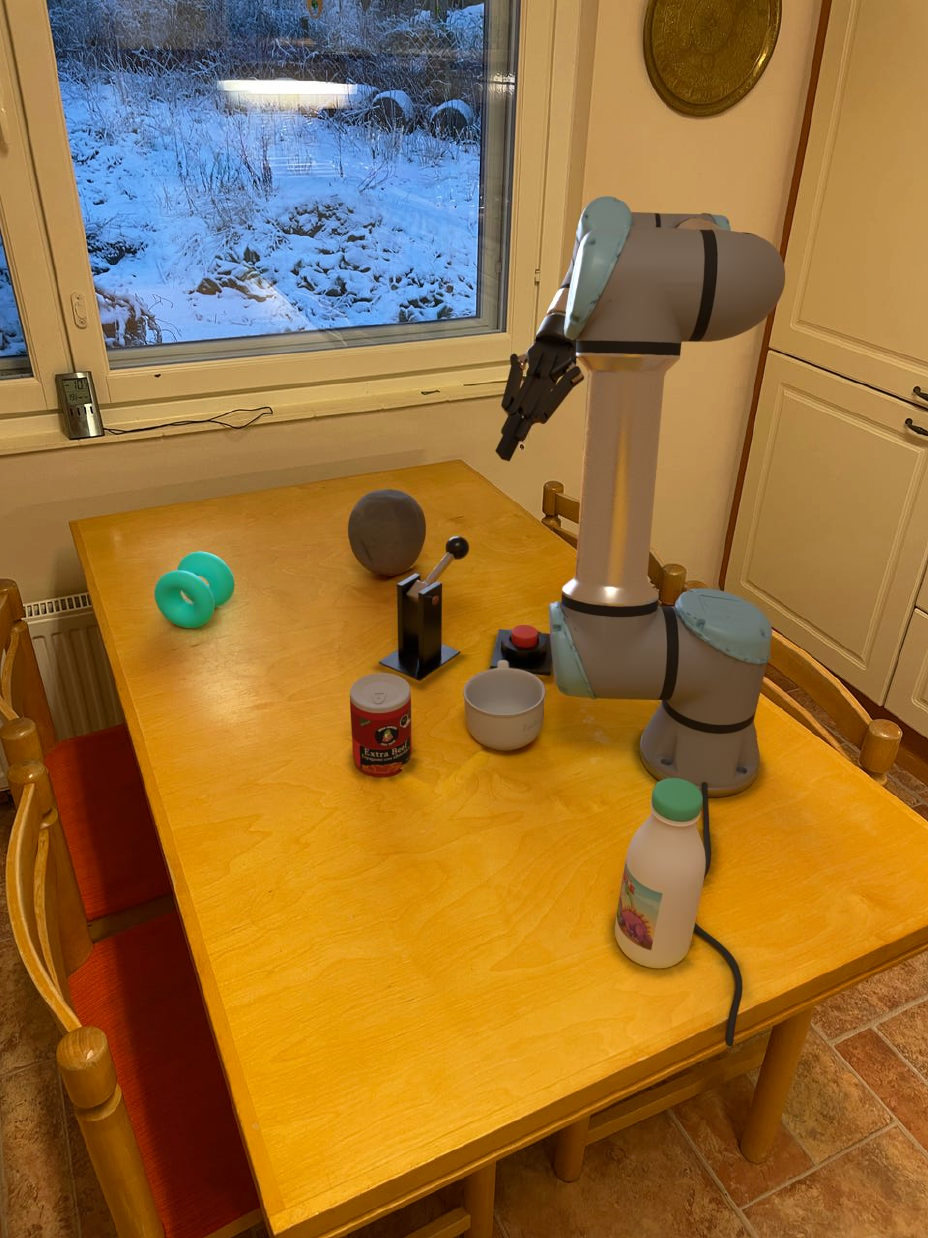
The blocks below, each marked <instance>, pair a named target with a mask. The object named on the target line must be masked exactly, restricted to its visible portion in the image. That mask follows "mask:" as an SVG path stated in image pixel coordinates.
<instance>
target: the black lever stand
mask: <svg viewBox="0 0 928 1238" xmlns="http://www.w3.org/2000/svg"><path fill="white" fill-rule="evenodd" d="M417 580H418V581H420V582H422V577H421V574H419V573H414V574H412V575H410V576H408V577H406V578H405V579H403V580H402V581H399V582H398V583H396V608H397V609H396V611H397V613H396V614H397V649H396V650H395V651H392V653H389V654H388V655H387V656H385V657H383V658H382V659H381V660H379V661H378V664H380V665H382V666H385V667H387V668H389V669H391V670H394V671H396V672H398V673H401V674H403V675H405V676H407V677H408V678H409V677H410V678H412V679H414V680H416V681H418V682H421V681H423V680H424V679H425V678H427V677H428V676H429V675H431V674H433V673H434V672H435V671H436V670H438V669H439V668H441V667H442V666H443V665H445V664H446V663H448V662H449V661H451V660H452V659H454V658H455V657H456V656H458V655H459V654H460V653H461V651H460V650H458V649H455V648H454V647H451V646H448V645H445V644H443V641H442V640H443V639H442V638H443V635H442V634H443V582H441V581H438V580H437V581H436V582H435V583H433V584H431V585H430V586H428V587H426V588H425V589H423V590H421V591H420V592H418V606H415V605H412V604H411V603H410V601H409V599H408V596H407V594H406V593H407V592H408V591H409V590H410V588H411V587H412V586H413V585H414V583H415V582H416V581H417Z"/></svg>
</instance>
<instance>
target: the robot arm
mask: <svg viewBox="0 0 928 1238" xmlns="http://www.w3.org/2000/svg"><path fill="white" fill-rule="evenodd" d="M785 286H786V268H785V263H784V260H783V258H782V255H781V254H780V252H779V250H778V249H777V247H776V246H775V245H773V244H772V243H771V242H770V241H769V240H767V239H766V238H764V237H761V236H759V235H757V234H755V233H752V232H745V231H741V232H740V231H734V230H731V225H730V220H729V218H728V217H727V216H725V215H722V214H712V213H709V212H701V213H667V212H666V213H665V212H663V213H662V212H661V213H659V212H647V211H646V212H644V211H642V212H639V211H631V209H630V207H629V205H627V203H625V201H623V200H620V199H618V198H617V197H614V196H609V195H606V196H599V197H596V198H595V199H593V200H592V201H590V202H589V203H588V204H587V205H585V207H584V209H583V211H582V213H581V215H580V218H579V222H578V224H577V226H576V231H575V240H574V247H573V251H572V255H571V260H570V265H569V267H568V270H567V272H566V274H565V276H564V279H563V280H562V283H561V284H560V286H559V289H558V291H557V292H556V294H555V296H554V297H553V300H552V302H551V304H550V305H549V307H548V310H547V312H546V316H545V317H544V318H543V320H542V322H541V324H540V326H539V328H538V329H537V332H536V334H535V339H534V342H533V343H532V345H531V346H529V348H528V349H527V350H526V352H525V353H523V354H520V355H518V354H517V353H512V354H510V356H509V361H510V369H509V371H508V372H509V373H508V377H507V379H506V380H507V381H506V384H505V389H504V392H503V396H502V400H501V404H500V406H501V408H502V410H503V411H504V412H505V414H506V416H507V418H506V420H505V421H504V423H503V425H502V427H501V430H500V433H501V435H502V436H501V438H500V440H499V442H498V444H497V446H496V448H495V453H496V454H497V455H498V457H499V458H500V460H502V461H506V462H511V460H512V457H513V455H514V453H515V452H516V450H517V447H518V445H519V443H520V442H521V443H524V441H526V439H527V436H528V435H529V433H530V430H531V428H532V427H533V426H534V425H536V424H541V425H545V424H547V422H549V420H550V419H551V417H552V416H553V414H554V413H555V412H556V411H557V410H558V408H559V407H560V405H562V403H563V402H564V400H565V399H566V398H567V397H568V396H569V394H570V393H571V391H572V390H573V389H574V388H575V387H576V386H578V385H579V384H580V383H581V382H583V381H584V380H585V376H584V373H583V371H582V370H581V368H580V367H579V365H577V359H578V361H580V363H581V364H582V365H583V366H584V368H585V369H586V371H587V383H586V384H587V385H586V399H585V400H586V401H585V402H586V403H585V415H584V416H585V418H584V431H583V432H584V434H583V446H582V463H581V464H582V465H581V479H580V495H579V511H578V513H579V514H578V530H577V545H576V558H575V559H576V560H575V574H574V576H573V577H572V578H571V579H570V580H569V581H567V582H566V583H565V584H564V585H563V586H562V588H561V599H560V601H559V600H556V601H554V602H551V603H549V605H548V629H549V634H550V641H551V651H552V668H553V669H552V670H553V675H554V681H555V685H556V688H557V690H558V691H559V692H560V693H561V694H563V695H564V696H567V697H575V698H585V699H591V700H593V701H595V700H596V699H597V700H599V699H601V700H603V699H604V700H637V701H660V703H659V705H658V706H657V708H656V709H655V711H654V713H653V715H652V716H651V717H650V720H649V721H648V723H647V725H646V726H645V727H644V729H643V732H642V734H641V739H640V744H639V758H640V761H641V763H642V765H643V766H644V768H645V769H646V770H647V771H648V772H649V774H650V775H651V776H652V777H654V779H656V780H658V782H659V781H661V780H663V779H667V778H679V779H683V780H686V781H689V782H691V783H692V784H694V785H695V786H696V787H698V789H699V790H700V791H701V793H702V797H703V803H702V820H703V821H702V825H703V826H702V827H703V841H704V842H703V843H704V851H705V858H706V865H705V875H704V879H706V877H707V875H708V874H709V870H710V867H711V862H712V843H711V832H710V807H709V806H710V805H709V798H721V797H727V796H728V797H729V796H733V795H735V794H738V793H741V792H743V791H745V790H746V789H748V788H749V787H750V786H752V784H753V783H754V782H755V780H756V778H757V776H758V771H759V767H760V764H761V763H760V760H761V759H760V749H759V748H760V747H759V743H758V734H757V729H756V726H755V725H756V724H755V717H756V712H757V708H758V704H759V699H760V695H761V690H762V686H763V682H764V679H765V678H764V677H765V673H766V669H767V665H768V662H769V660H770V659H771V646H772V639H773V626H772V624H771V621H770V619H769V617H768V616H767V615H766V613H764V612H763V610H762V609H761V608H759V607H758V606H756V605H755V604H754V603H752V602H751V601H748V600H746V599H745V598H743V597H741V596H739V595H737V594H733V593H730V592H727V591H723V590H718V589H713V588H705V587H704V588H701V587H700V588H692V589H690V590H687V591H683V592H682V593H681V594H680V595H678V598H677V599H676V601H675V603H674V606H666V605H659V598H660V597H659V593H658V591H657V590H656V588H655V587H654V586H653V585H652V584H651V583H650V582H649V580H648V575H649V562H650V550H651V539H652V528H653V518H654V517H653V515H654V504H655V503H654V502H655V493H656V492H655V491H656V482H657V481H656V479H657V469H658V468H657V467H658V458H659V457H658V456H659V447H660V445H659V444H660V434H661V422H662V409H663V399H664V385H665V376H666V374H667V372H668V371H669V370H670V369H671V368H672V367H674V365H675V364H677V362H679V361H680V359H681V353H682V350H681V349H682V343H686V342H687V343H688V342H689V343H691V342H692V343H699V342H700V343H701V342H702V343H703V342H704V343H711V342H718V341H724V340H728V339H732V338H735V337H737V336H740V335H741V334H744V333H746V332H748V331H750V330H751V329H753V328H755V327H756V326H758V325H759V324H760V323H762V322H763V321H764V320H765V319H766V318H767V317H768V316H769V315H770V314H771V313H772V312H773V311H774V309H775V308H776V306H777V305H778V303H779V301H780V299H781V297H782V294H783V292H784V289H785ZM527 364H528V367H527ZM526 368H527V370H526ZM525 370H526V373H525V377H524V371H525ZM523 378H524V379H523ZM693 932H695V933H696V934H697V935H698V936H699V937H701V938H702V939H703V940H705V942H707V943H709V945H710V946H712V947H714V948H715V949H716V950H717V951H718V952H719V953H720V954H721V955H722V956H723V957H724V958H725V960H726V962H727V963H728V964H729V966H730V968H731V971H732V974H733V977H734V991H733V992H734V993H733V997H732V1001H731V1005H730V1009H729V1013H728V1017H727V1023H726V1029H725V1030H726V1032H725V1039H724V1041H725V1045H726V1046H727V1047H730V1048H731V1047H733V1045H734V1040H735V1031H736V1024H737V1018H738V1013H739V1008H740V1004H741V1002H742V996H743V989H744V987H743V977H742V972H741V969H740V967H739V964H738V963H737V960H736V959H735V957H734V956H733V954H732V953H731V952H730V951H729V950H728V948H727V947H725V946H724V945H723V944H722V943H721V942H720V941H719V940H717V938H715V937H714V936H712V935H711V934H709V933H708V932H707V931H705V930H704V928H702V927H701V926H699V924H698V923H697V922H695V926H694V930H693Z"/></svg>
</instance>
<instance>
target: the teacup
mask: <svg viewBox="0 0 928 1238" xmlns="http://www.w3.org/2000/svg"><path fill="white" fill-rule="evenodd" d="M546 690H547V689H546V686H545V684H544V682H543V681H542V679H541V678H540V677H538V676H536V674H531V673H529V672H527V671H524V670H520V669H513V668H509V663H508V661H506V660H500V661H498V663H497V668H495V669H487V670H483V671H480V672H477V673H476V674H474V675H473V676H471V677H470V678H469V679H468V680H466V682H465V684H464V686H463V690H462V696H463V699H464V701H463V702H464V713H465V715H464V716H465V722H466V726H467V729H468V732H469V734H470V735H471V737H472V738H473V739H475V741H476V742H478V743H479V744H481V745H483V746H485V747H486V748H487V747H488V748H490V749H492V750H495V751H500V752H501V751H502V752H506V751H507V752H508V751H509V752H510V751H514V750H518V749H520V748H522V747H525V746H527V745H529V744H530V743H531V742H533V741H534V740H535V739H536V738H537V737H538V735H539V734H540V732H541V730H542V728H543V725H544V717H545V699H546V694H547V693H546Z"/></svg>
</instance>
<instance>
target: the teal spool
mask: <svg viewBox="0 0 928 1238" xmlns="http://www.w3.org/2000/svg"><path fill="white" fill-rule="evenodd" d="M176 568H177V569H175V570H171V571H168V572H166V573H164V574H163V575H162V576H161V577H159V579H158V580H157V582H156V584H155V587H154V594H153V595H154V600H155V604H156V606H157V608H158V610H159V612H160V613H161V615H163V616H164V618H166V619H167V620H168V621H169V622H171V623H172V624H174V625H176V626H177V627H181V628H185V629H186V628H187V629H197V628H201V627H202V626H203V625H206V624H207V623H208V622H209V621H210V619H212V617H213V615H214V613H215V608H217V607H221V606H224V605H225V604H226V603H228V602H229V601H230V599H231V598H232V596H233V594H234V592H235V586H236V585H235V584H236V583H235V577H234V575H233V572H232V570H231V569H230V567H229V566H228V564H227V563H226V562H225V561H224V560H223V559H222V558H221V557H219V556H218V555H216V554H213V553H211V552H207V551H194V552H190V553H188V554H186V555H185V556H184V557H183V558H182V559H181V560H180V561H179V563H178V565H177V567H176ZM202 578H203V579H202ZM204 579H205V580H204ZM206 582H207V583H208V584H207V583H206ZM183 595H184V596H185V597H186V598H187V599H188V600H190V601H191V602H189V601H187V600H186V599H185V598H184V597H183Z"/></svg>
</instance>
